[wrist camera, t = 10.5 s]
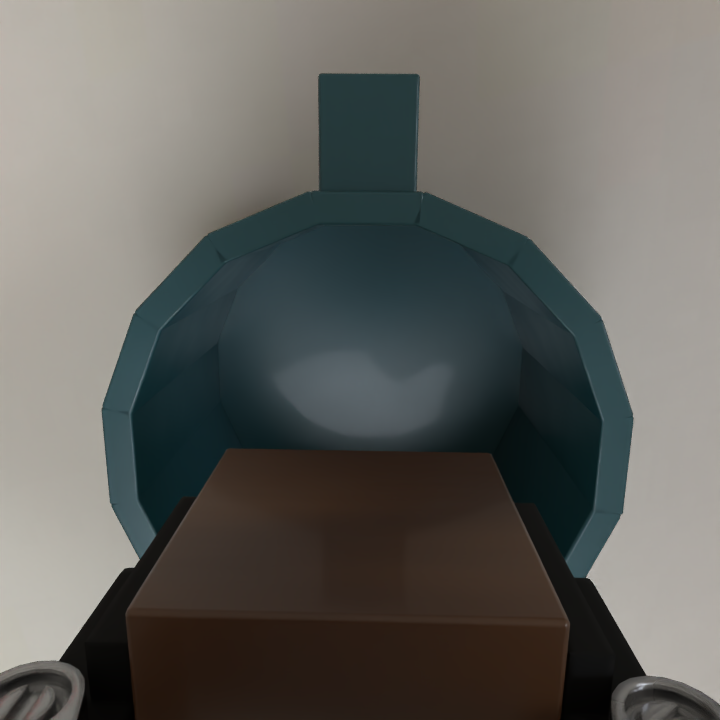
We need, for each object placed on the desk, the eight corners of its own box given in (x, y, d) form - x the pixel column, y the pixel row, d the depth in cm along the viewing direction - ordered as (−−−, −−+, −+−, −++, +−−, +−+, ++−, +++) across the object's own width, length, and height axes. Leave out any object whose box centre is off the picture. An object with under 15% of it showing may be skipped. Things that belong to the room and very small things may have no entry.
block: (491, 451, 11) (573, 621, 6) (477, 679, 12) (538, 963, 7) (225, 446, 11) (121, 611, 6) (236, 673, 12) (153, 949, 8)
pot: (556, 123, 23) (675, 67, 14) (521, 582, 28) (593, 770, 18) (190, 121, 24) (68, 65, 14) (213, 575, 28) (132, 756, 19)
